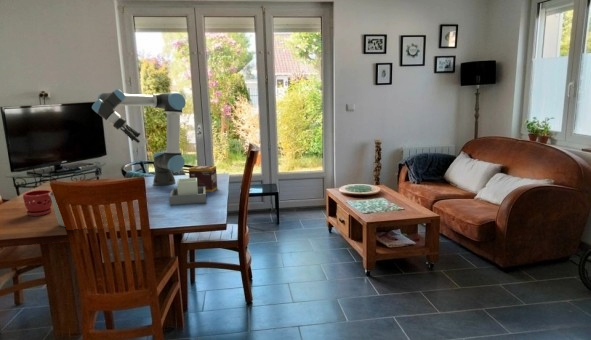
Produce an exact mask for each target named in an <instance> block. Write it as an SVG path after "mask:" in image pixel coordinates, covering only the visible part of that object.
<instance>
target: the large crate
mask: <svg viewBox="0 0 591 340" xmlns="http://www.w3.org/2000/svg"><path fill="white" fill-rule="evenodd" d="M168 199H169V206H170V207H171V206H186V205H198V204H206V203H207V192H206V190H205V187H198V194H191V195H178V188H177V187H176V188H171V190H170V194H169V196H168Z"/></svg>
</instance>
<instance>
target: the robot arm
mask: <svg viewBox="0 0 591 340" xmlns="http://www.w3.org/2000/svg"><path fill="white" fill-rule="evenodd" d="M118 106H128V107H129V106H131V107H133V106H134V107H151V108H153V109H162V110H164V113H165V114H166V149H165V150H164V151H161V152H155V153H153V165H154V177H153V180H152V181H153V182H152V183H153V185H154V186H159V187H161V186H170V185H174V184H175V183H176V178H175V176H174V172H175V173H177V172H180V171H181V170H182V169H184V167H185V159H184V157H183V156H182V155H183V153H182V151H181V150H180V145H181V144H180V139H181V138H180V137H181V136H180V134H181V132H180V131H181V130H180V127H181V114H183V109H184V108H185V106H186V98H185V96H183V94H181V93H180V92H177V91H176V92H175V91H173V92H171V91H169V92H160V93H152V94H137V93H136V94H134V93H133V94H132V93H131V94H130V93H124V92H123V91H122V90H121V89H119V88H116V89H114V90H113V91H112V92H102V93H100V94H99V95H98V96H97V100H96V101H95V102H93V104H92V105H91V109H92V111H94V112H95V113H96V114H98V115H99V116H100V117H101V118H103V119H104V120H105V121H106V122H107V124H110V125H112V126H113V127H114V129H116V130H117V131H118V130H121V131H122V132H123V133H124V134H125V135H126V136H127V137H128V138H129V139H130V140H131V141H132V142H133V141H134V142H135V143H136V144H137V145H139V146H140V147H141V148H143V147H145V146H146V145H147V144H148V143H149V141H148V140H147V139H146V138H145V137H144V136H142V135H141V133H140V132H138V131H137V130H135V129H133V127H131V126H130V125H129V124H126V123H127V120H126V119H125V118H124V117H123V116H121V114H119V113H118V112H117V111H116V110H115V109H116V108H117V107H118Z"/></svg>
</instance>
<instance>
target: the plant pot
mask: <svg viewBox="0 0 591 340" xmlns="http://www.w3.org/2000/svg"><path fill="white" fill-rule="evenodd" d="M52 191H53V190H50V189H46V190H45V189H39V190H31V191H27V192H24V193H23V194H22V198H23V202H24V203H23V204H24V206H25V208H26V209H27V211H26V214H27V215H28V216H32V217H34V216H35V217H37V216H44V215H48V214H50V213H51V212H52V211H53V209H52V206H53V204H52V200H51V196H49V193H51V192H52Z"/></svg>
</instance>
